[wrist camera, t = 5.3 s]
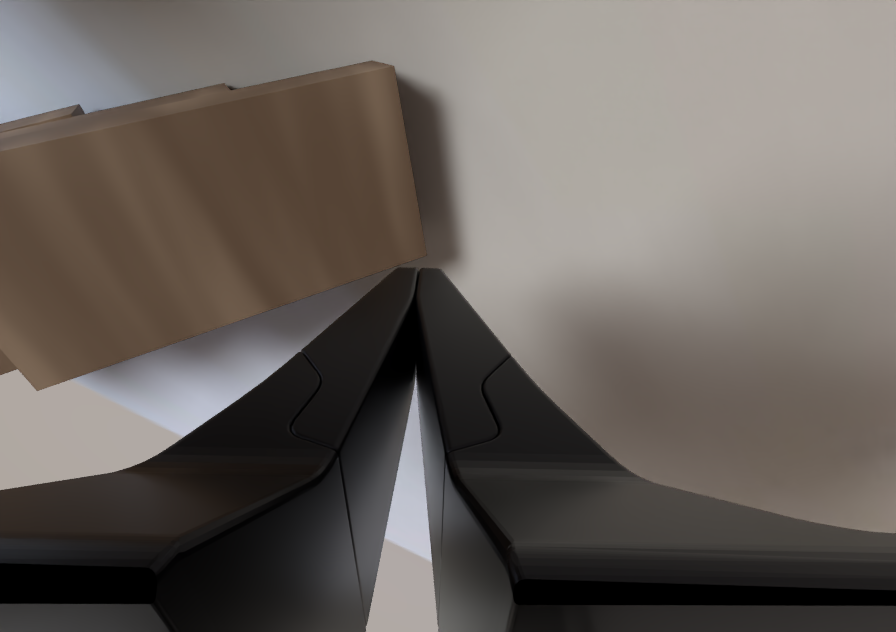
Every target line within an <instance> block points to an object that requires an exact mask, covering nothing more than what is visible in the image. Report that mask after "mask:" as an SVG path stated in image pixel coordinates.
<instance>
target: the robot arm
mask: <svg viewBox="0 0 896 632" xmlns="http://www.w3.org/2000/svg"><path fill="white" fill-rule="evenodd" d="M415 377H416V381H417V396H418V407H419V418H420V430H421V441H422V452H423V463H424V475H425V486H426V497H427V509H428V520H429V531H430V542H431V554H432V565H433V575H434V587H435V598H436V610H437V620H438V627H439V629H438V632H896V533H879V532H868V531H861V530H854V529H847V528H841V527H835V526H829V525H824V524H818V523H814V522H809V521H804V520H799V519H795V518H791V517H787V516H783V515H779V514H775V513H771V512H767V511H763V510H759V509H755V508H751V507H747V506H743V505H739V504H735V503H731V502H727V501H723V500H719V499H715V498H711V497H707V496H703V495H699V494H695V493H691V492H687V491H683V490H680V489H676V488H672V487H668V486H664V485H660V484H656V483H653V482H650V481H648V480H646V479H643V478H641V477H639V476H637V475H636V474H634V473H632V472H631V471H629V470H628V469H626V468H625V467H624V466H622V465H621V464H620V463H619V462H617V461H616V460H615V459H614V458H613V457H612V456H610V455H609V454H608V453H607V452H606V451H605V450H604V449H603V448H602V447H601V446H600V445H599V444H598V443H597V442H595V441H594V440H593V439H592V438H591V437H590V436H589V435H588V434H587V433H586V432H585V431H584V430H583V429H582V428H581V427H579V426H578V425H577V424H576V423H575V422H574V421H573V420H572V419H571V418H570V417H569V416H568V415H567V414H566V413H565V412H563V411H562V410H561V409H560V408H559V407H558V406H557V405H556V404H555V403H554V402H553V401H552V400H551V399H550V398H549V397H548V396H547V395H546V394H545V393H544V392H543V391H542V390H541V389H540V388H539V387H538V386H537V385H536V384H535V382H534V381H533V380H532V379H531V378H530V377H529V376H528V374H527V373H526V372H525V371H524V370H523V369H522V368H521V366H520V365H519V364H518V363H517V361H516V360H515V359H514V358H513V357H512V356H511V354H510V353H509V352H508V351H507V349H506V348H505V347H504V346H503V344H502V343H501V342H500V341H499V339H498V338H497V337H496V336H495V335H494V333H493V332H492V331H491V330H490V328H489V327H488V326H487V325H486V324H485V322H484V321H483V320H482V319H481V317H480V316H479V315H478V314H477V312H476V311H475V310H474V309H473V308H472V306H471V305H470V304H469V303H468V301H467V300H466V299H465V298H464V297H463V295H462V294H461V293H460V292H459V290H458V289H457V288H456V287H455V286H454V284H453V283H452V282H451V281H450V279H449V278H448V277H447V276H446V274H445V273H444V272H443V271H442V270H441V269H438V268H422V269H420V271H419V270H418V269H417V268H401V267H400V268H397V269H395V270H394V271H393V272H392V273H391V274H389V275H388V276H387V277H386V278H385V279H384V280H382V281H381V282H380V283H379V284H378V285H377V286H375V287H374V288H373V289H372V290H371V291H370V292H368V293H367V294H366V295H365V296H364V297H363V298H361V299H360V300H359V301H358V302H357V303H356V304H354V305H353V306H352V307H351V308H350V309H349V310H347V311H346V312H345V313H344V314H343V315H342V316H340V317H339V318H338V319H337V320H336V321H335V322H333V323H332V324H331V325H330V326H329V327H328V328H327V329H325V330H324V331H323V332H322V333H321V334H320V335H318V336H317V337H316V338H315V339H314V340H313V341H311V342H310V343H309V344H308V345H307V346H306V347H304V348H303V349H302V350H301V352H298V353H297V354H296V355H295V356H294V357H292V358H291V359H290V360H289V361H288V362H287V363H285V364H284V365H283V366H282V367H281V368H279V369H278V370H277V371H276V372H274V373H273V374H272V375H271V376H269V377H268V378H267V379H266V380H264V381H263V382H262V383H260V384H259V385H258V386H256V387H255V388H253V389H252V390H251V391H249V392H248V393H247V394H245V395H244V396H242V397H241V398H240V399H238V400H237V401H235V402H234V403H233V404H231V405H230V406H228V407H227V408H225V409H224V410H222V411H221V412H220V413H218V414H217V415H215V416H214V417H212V418H211V419H209V420H208V421H207V422H205V423H204V424H202V425H201V426H199V427H198V428H196V429H195V430H193V431H192V432H191V433H189V434H188V435H186V436H185V437H183V438H182V439H181V440H179V441H178V442H176V443H175V444H173V445H172V446H170V447H169V448H167V449H166V450H164V451H163V452H161V453H159V454H158V455H156V456H154V457H152V458H150V459H148V460H146V461H145V462H142V463H140V464H137V465H135V466H132V467H130V468H126V469H123V470H119V471H116V472H112V473H107V474H101V475H94V476H88V477H81V478H76V479H69V480H62V481H56V482H50V483H43V484H37V485H31V486H24V487H18V488H12V489H5V490H0V632H366V625H367V622H368V617H369V612H370V606H371V602H372V597H373V592H374V587H375V582H376V576H377V571H378V566H379V562H380V557H381V551H382V546H383V541H384V536H385V531H386V526H387V521H388V516H389V511H390V506H391V501H392V496H393V491H394V486H395V481H396V476H397V471H398V466H399V461H400V456H401V451H402V446H403V441H404V436H405V430H406V425H407V420H408V415H409V410H410V405H411V400H412V395H413V390H414V384H415Z"/></svg>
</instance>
